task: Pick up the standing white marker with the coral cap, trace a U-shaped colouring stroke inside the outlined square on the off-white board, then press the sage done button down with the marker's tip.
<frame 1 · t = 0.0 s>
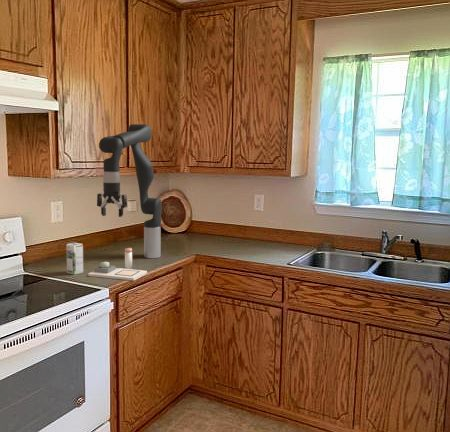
hand: (112, 216, 218), 29 cm above the counter, fingers open, 8 cm apart
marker: (128, 269, 238), on the counter
done button: (104, 265, 229), point 4 cm above the counter, slide at 0.0 cm
syrup box: (75, 273, 229), on the counter
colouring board: (118, 274, 227), on the counter
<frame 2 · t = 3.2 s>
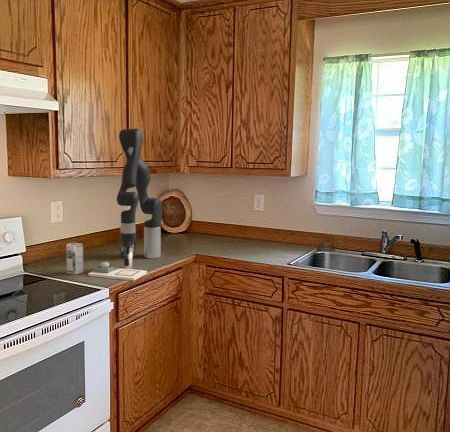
hand: (128, 264, 237), 2 cm above the counter, fingers closed on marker, 3 cm apart
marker: (128, 269, 238), on the counter, touching gripper
everything else where it was.
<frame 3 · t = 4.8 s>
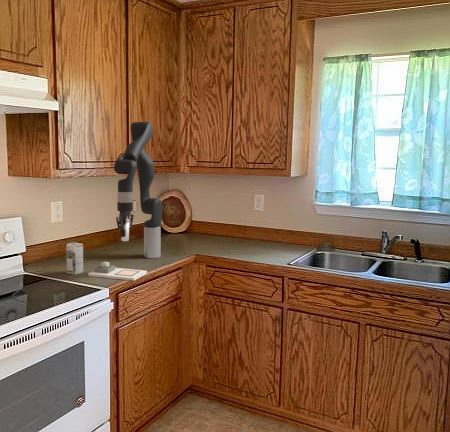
hand: (125, 236, 229), 18 cm above the counter, fingers closed on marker, 3 cm apart
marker: (125, 240, 230), point 16 cm above the counter, touching gripper
everything else where it was.
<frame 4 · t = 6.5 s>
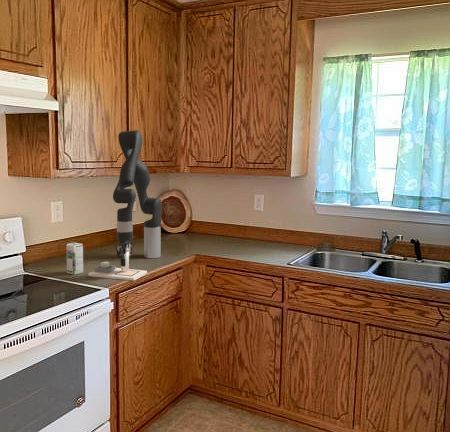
hand: (125, 264, 228), 5 cm above the counter, fingers closed on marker, 3 cm apart
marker: (125, 269, 228), point 2 cm above the counter, touching gripper
everything else where it was.
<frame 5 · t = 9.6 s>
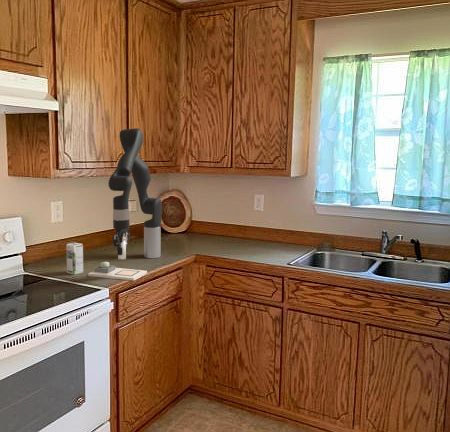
hand: (122, 253, 223), 11 cm above the counter, fingers closed on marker, 3 cm apart
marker: (122, 258, 224), point 9 cm above the counter, touching gripper
everything else where it was.
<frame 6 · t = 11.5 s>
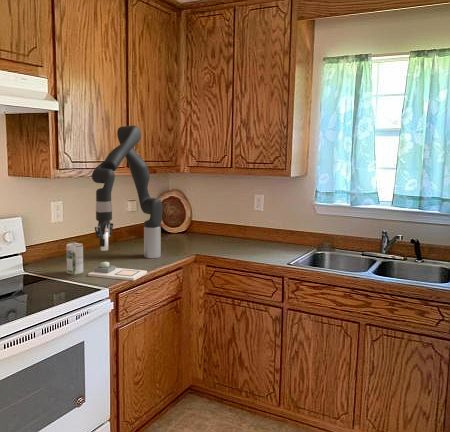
hand: (104, 245, 227), 14 cm above the counter, fingers closed on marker, 3 cm apart
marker: (104, 249, 228), point 12 cm above the counter, touching gripper
everything else where it was.
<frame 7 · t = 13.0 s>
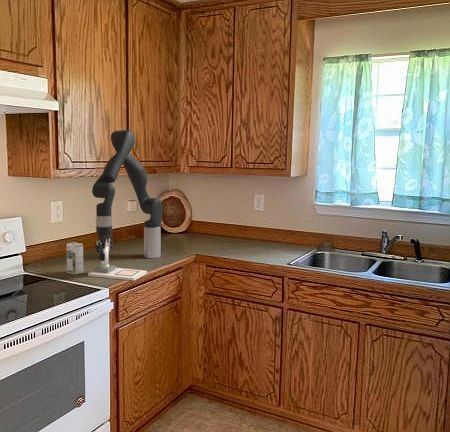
hand: (104, 259, 228), 7 cm above the counter, fingers closed on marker, 3 cm apart
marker: (104, 264, 229), point 5 cm above the counter, touching done button, gripper
done button: (105, 267, 229), point 3 cm above the counter, slide at -0.7 cm, touching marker
everything else where it was.
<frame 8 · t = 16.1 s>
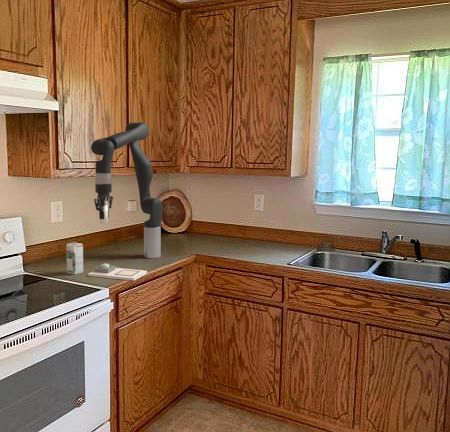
hand: (104, 218, 225), 27 cm above the counter, fingers closed on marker, 3 cm apart
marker: (104, 222, 226), point 25 cm above the counter, touching gripper
done button: (105, 267, 229), point 3 cm above the counter, slide at -0.9 cm
everything else where it was.
at the end: done button slide at -0.9 cm; the gripper is holding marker; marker tilted 0° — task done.
